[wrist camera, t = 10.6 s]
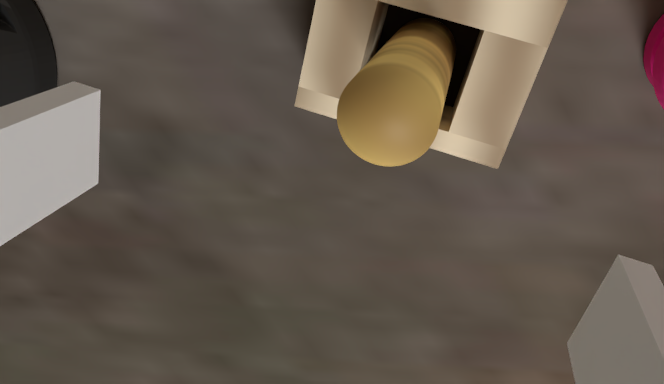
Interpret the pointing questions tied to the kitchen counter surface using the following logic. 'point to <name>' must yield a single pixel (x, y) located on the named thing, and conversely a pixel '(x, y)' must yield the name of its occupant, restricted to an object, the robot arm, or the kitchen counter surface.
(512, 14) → the socket block
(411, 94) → the peg
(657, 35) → the pepper mill
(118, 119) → the kitchen counter surface
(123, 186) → the kitchen counter surface
